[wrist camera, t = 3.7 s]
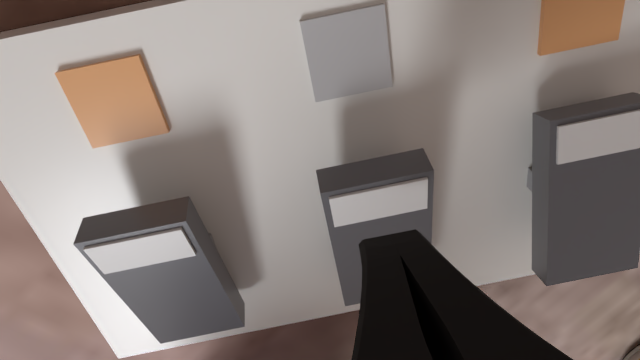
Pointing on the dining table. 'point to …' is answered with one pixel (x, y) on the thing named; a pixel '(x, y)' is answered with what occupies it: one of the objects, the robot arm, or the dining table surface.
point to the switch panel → (294, 128)
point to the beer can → (634, 354)
